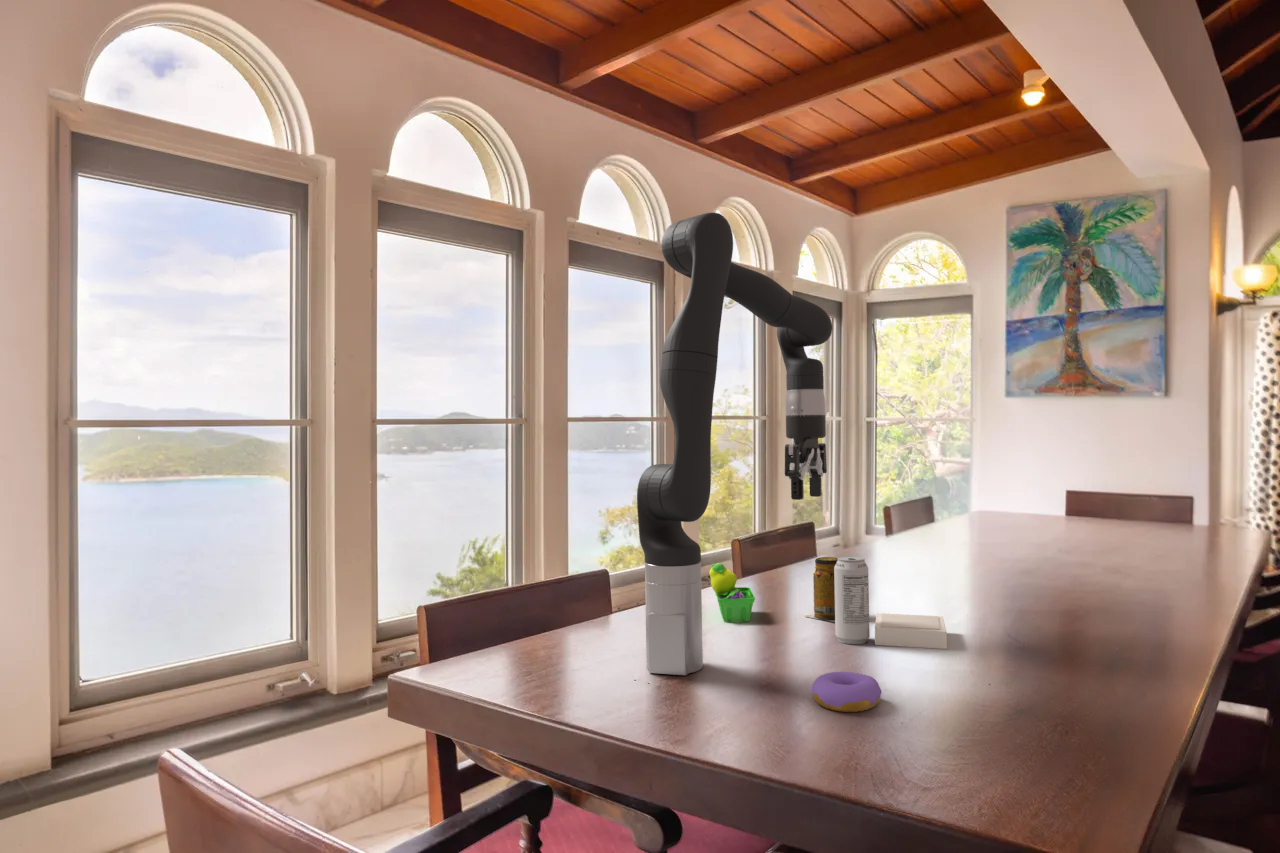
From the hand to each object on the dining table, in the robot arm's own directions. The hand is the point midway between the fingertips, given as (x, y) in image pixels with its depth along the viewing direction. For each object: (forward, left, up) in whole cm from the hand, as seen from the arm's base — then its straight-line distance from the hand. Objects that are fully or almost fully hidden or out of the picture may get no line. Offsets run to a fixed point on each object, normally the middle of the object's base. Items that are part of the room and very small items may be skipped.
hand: (806, 498), depth 160 cm
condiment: (+12, -3, -26) cm, 28 cm away
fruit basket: (+8, +17, -26) cm, 31 cm away
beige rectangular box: (-2, -18, -25) cm, 31 cm away
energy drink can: (-6, -8, -26) cm, 28 cm away
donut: (-41, -9, -26) cm, 50 cm away
